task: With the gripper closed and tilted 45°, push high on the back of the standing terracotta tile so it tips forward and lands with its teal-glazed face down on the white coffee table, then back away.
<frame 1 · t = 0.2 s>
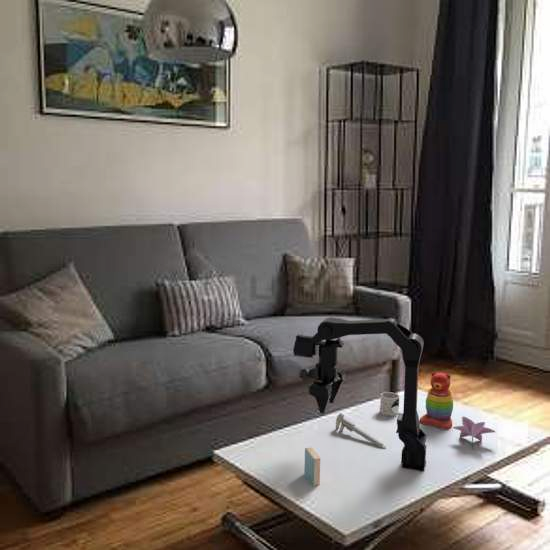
hand: (326, 408, 194), 14 cm above the table, tool pointing down, fingers open, 9 cm apart
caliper: (360, 439, 207), on the table
lily: (472, 444, 204), on the table
stacking bear: (437, 422, 221), on the table
mug: (390, 411, 230), on the table
tile: (311, 479, 179), on the table
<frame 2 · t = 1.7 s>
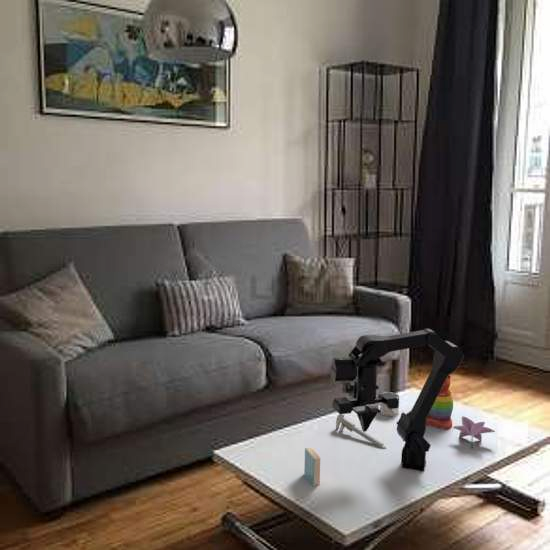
hand: (364, 431, 183), 12 cm above the table, tool pointing down, fingers closed
nothing on the table moved.
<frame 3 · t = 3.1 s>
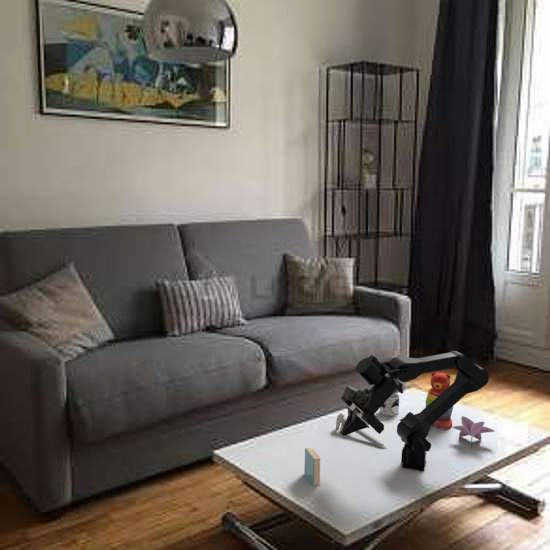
hand: (341, 434, 179), 12 cm above the table, tool tilted 45°, fingers closed
nothing on the table moved.
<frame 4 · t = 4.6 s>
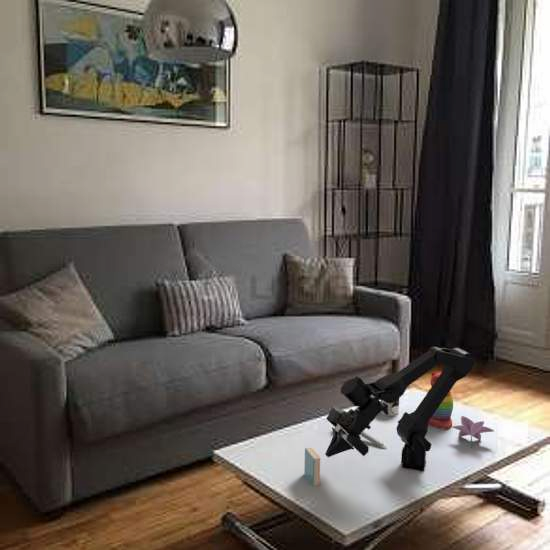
hand: (326, 455, 179), 7 cm above the table, tool tilted 45°, fingers closed
nothing on the table moved.
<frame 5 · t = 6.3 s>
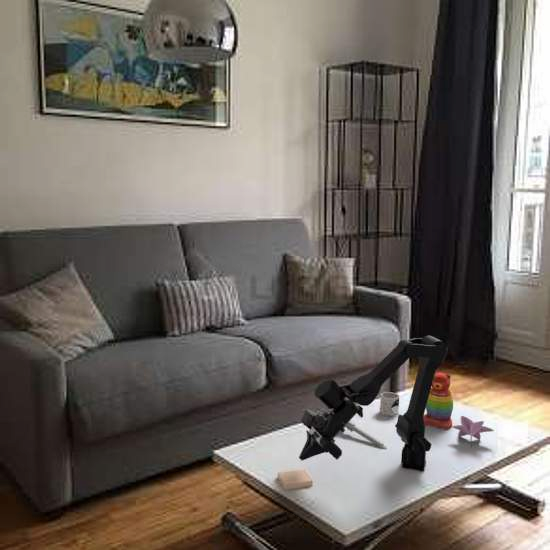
hand: (300, 459, 177), 7 cm above the table, tool tilted 45°, fingers closed
tile: (308, 478, 179), on the table, tilted 90°
everything else where it was.
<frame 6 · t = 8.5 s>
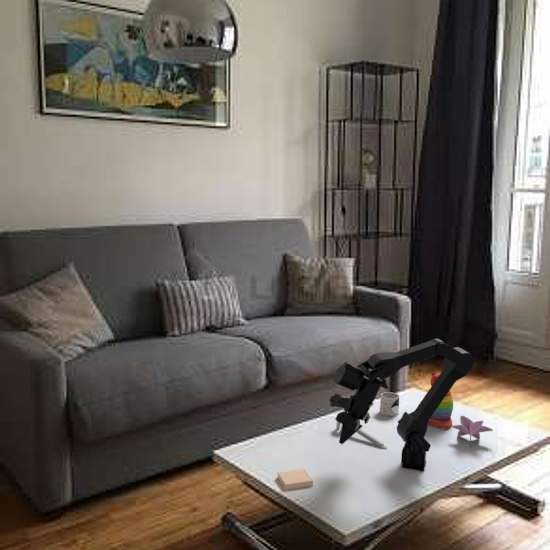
hand: (340, 443, 182), 9 cm above the table, tool tilted 25°, fingers closed
nothing on the table moved.
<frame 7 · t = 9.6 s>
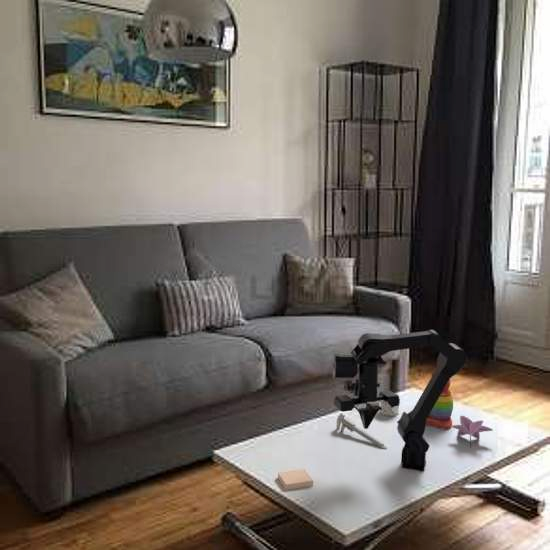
hand: (365, 428, 185), 12 cm above the table, tool pointing down, fingers closed
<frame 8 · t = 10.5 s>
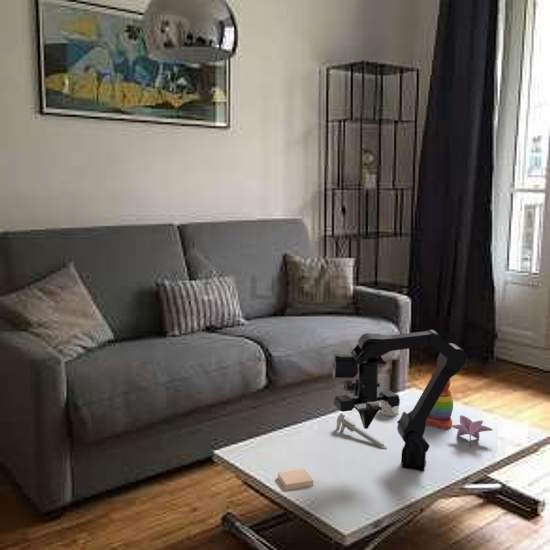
hand: (365, 428, 185), 12 cm above the table, tool pointing down, fingers closed
at the end: tile tilted 90°; tile inside the target area (0.9 cm from its centre), point 0.5 cm above the table; the gripper is holding nothing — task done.
